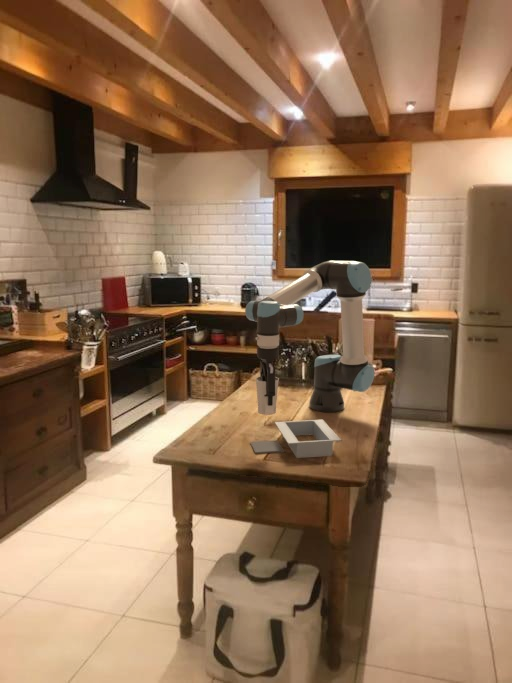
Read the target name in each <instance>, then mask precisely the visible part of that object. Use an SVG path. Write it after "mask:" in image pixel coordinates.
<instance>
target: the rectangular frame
mask: <svg viewBox="0 0 512 683" xmlns="http://www.w3.org/2000/svg"><path fill="white" fill-rule="evenodd" d="M274 425H275V426H276V427H277V429H278V430H279V432H280V434H281V436H282V437H283V439H284V440H285V443H286V444H287V445H288V447H289V448H290V449H291V451H292V453H293V454H294V456H295V457H296V459H302V458H317V457H319V458H320V457H331V456H333V449H334V448H333V447H334V446H333V445H334V444H333V443H334V442H342V439H341V438H340V437H339V436H338V435H337V434H336V433H335V431H334V430H333V429H332V428H331V427H330V426H329V425H328V424H327V422H326V421H325V420H324V419H308V420H291V421H290V420H289V421H275V422H274ZM309 435H310V436H311V435H313V436H314V438H315V439H316V440H303V441H299V440H298V438H297V436H309Z"/></svg>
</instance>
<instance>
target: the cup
mask: <svg viewBox="0 0 512 683" xmlns="http://www.w3.org/2000/svg"><path fill="white" fill-rule="evenodd" d="M279 382H280V378H279V377H277V376H275V396H274V410H273V414H265V399H266V397H265V396H264V395H266V382H265V381H262V376H261V377H260V376H257V377H255V383H256V384H255V385H256V396H257V397H256V398H257V399H256V400H257V414H260V415H264V416H269V415H274V414H277V400H278V399H277V398H278V389H279Z"/></svg>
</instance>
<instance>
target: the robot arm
mask: <svg viewBox="0 0 512 683" xmlns="http://www.w3.org/2000/svg"><path fill="white" fill-rule="evenodd" d="M372 281H373V280H372V273H371V270H370V267H369V266H368V265H367V264H366V263H365V262H362V261H356V260H332V259H331V260H327V261H323V262H321V263H319V264H317V265H314V266H312V267H310V268H308V269H307V270H305V271H304V272H303V274H302V275H301V276H300V277H298V278H297V279H295V280H293V281H292V282H290V283H288V284H287V285H285V286H283V287H281V288H280V289H277V291H274V292H273V293H271V294H269V295H267V296H266V297H265V298H263V299H261V300H250V301H248V302H247V304H246V306H245V309H244V314H245V316H246V318H247V319H248V320H249V321H252V322H256V326H257V327H256V329H257V333H256V337H255V340H256V345H257V347H256V357H257V358H258V359H260V361H259V362H260V369H259V370H260V371H259V372H260V375H259V377H261V376H262V381H265V382H266V395H264V396H265V397H266V399H265V414H272V415H274V414H273V410H274V396H275V377H276V366H275V363H274V362H273V361H274V360H276V359H278V358H279V355H280V354H279V353H280V352H279V351H280V348H279V346H280V328H285V327H286V328H287V327H295V326H297V325H299V324H301V323H302V322H303V320H304V315H305V314H304V310H303V307H301V305H299V304H298V302H299V301H300V300H302V299H303V298H305V297H306V296H309V295H310V294H312V293H318V292H320V291H322V290H335V292H336V297H337V298H338V299H339V300H340V317H341V318H340V319H341V336H342V355H340V354H325V355H320V356H317V357H316V358H315V359H314V365H313V368H314V369H313V370H314V371H313V374H314V375H313V382H314V383H313V391H312V394H311V396H310V399H309V403H308V404H309V409H312V410H314V411H317V412H321V413H323V412H324V413H334V412H335V413H336V412H340V411H342V410H344V408H345V401H344V398H343V394H342V389H345V390H349V391H353V392H360V393H363V392H365V391H367V390H369V388H370V387H371V386H372V384H373V381H374V378H375V368H374V367H373V365H370V364H369V357H367V356H366V355H365V345H364V344H365V342H364V315H363V314H364V312H363V311H364V310H363V298H364V297H365V296H366V295H367V292H368V291H369V289H370V288H371V285H372Z"/></svg>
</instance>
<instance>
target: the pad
mask: <svg viewBox="0 0 512 683" xmlns="http://www.w3.org/2000/svg"><path fill="white" fill-rule="evenodd" d="M250 445H251V448H252V449H253V452H254V454H255V455H261V454H274V453H284V448H283V447H282V445H281V444H280V442H279V440H277V439H275V440H274V439H273V440H260V441H259V440H256V441H250Z"/></svg>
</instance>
